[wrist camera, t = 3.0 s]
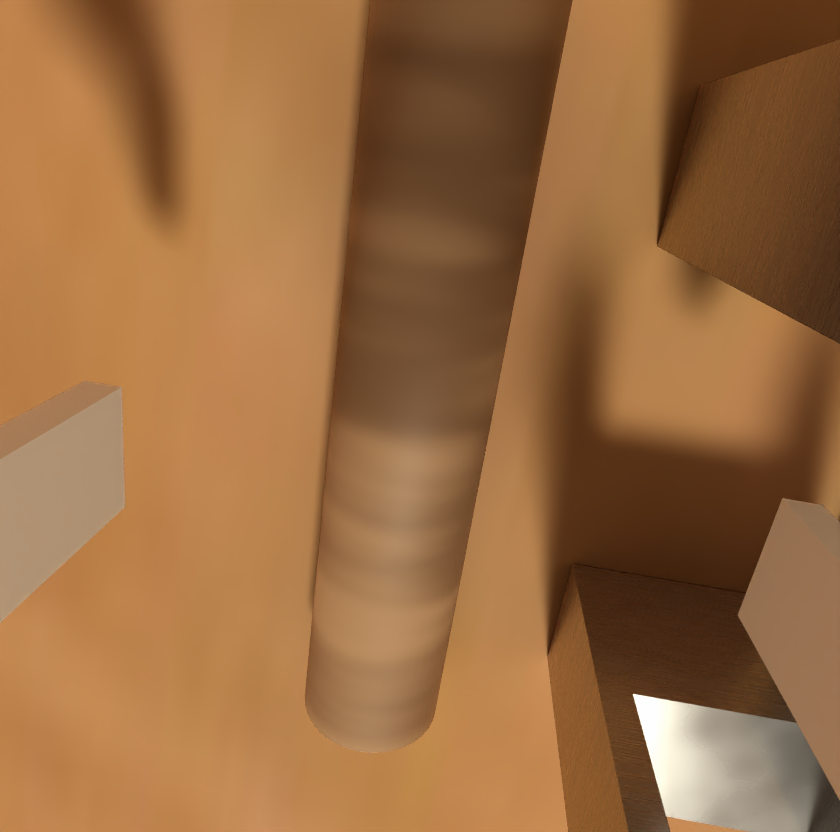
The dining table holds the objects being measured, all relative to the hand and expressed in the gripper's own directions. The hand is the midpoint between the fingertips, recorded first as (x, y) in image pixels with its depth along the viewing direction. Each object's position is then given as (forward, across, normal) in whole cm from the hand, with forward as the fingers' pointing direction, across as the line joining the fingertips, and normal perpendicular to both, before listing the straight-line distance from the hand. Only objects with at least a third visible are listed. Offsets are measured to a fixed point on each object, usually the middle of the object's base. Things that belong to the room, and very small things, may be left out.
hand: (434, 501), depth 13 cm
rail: (+6, 0, 0) cm, 6 cm away
